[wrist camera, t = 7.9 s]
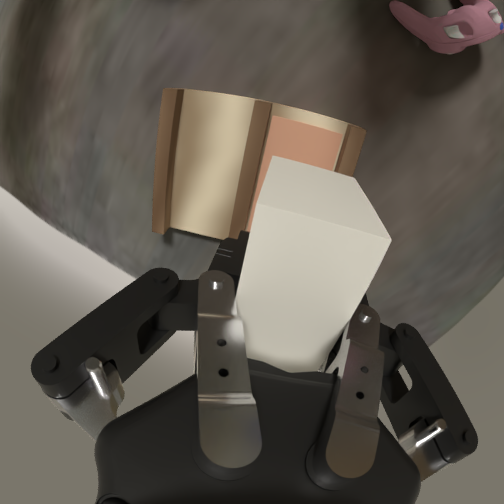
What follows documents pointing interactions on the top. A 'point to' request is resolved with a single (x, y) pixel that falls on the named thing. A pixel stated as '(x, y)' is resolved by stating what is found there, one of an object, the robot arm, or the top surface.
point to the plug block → (306, 264)
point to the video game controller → (452, 25)
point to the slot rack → (234, 156)
